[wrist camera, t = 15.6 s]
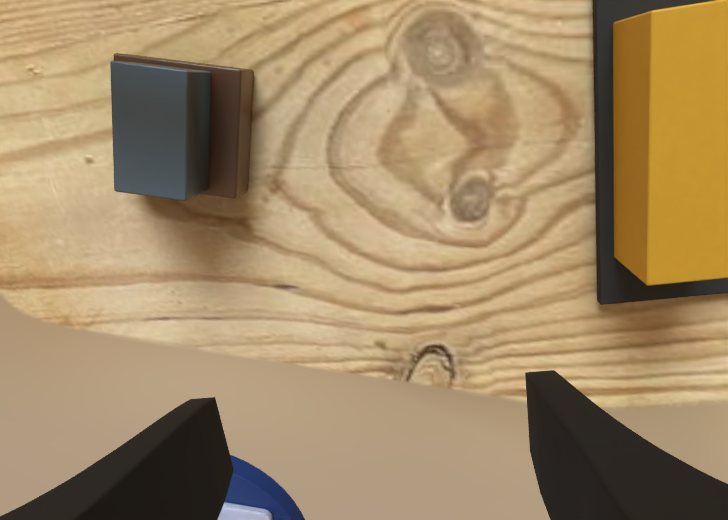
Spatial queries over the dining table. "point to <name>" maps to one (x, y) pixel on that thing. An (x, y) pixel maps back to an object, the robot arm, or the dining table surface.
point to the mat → (612, 276)
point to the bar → (671, 143)
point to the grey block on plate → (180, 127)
